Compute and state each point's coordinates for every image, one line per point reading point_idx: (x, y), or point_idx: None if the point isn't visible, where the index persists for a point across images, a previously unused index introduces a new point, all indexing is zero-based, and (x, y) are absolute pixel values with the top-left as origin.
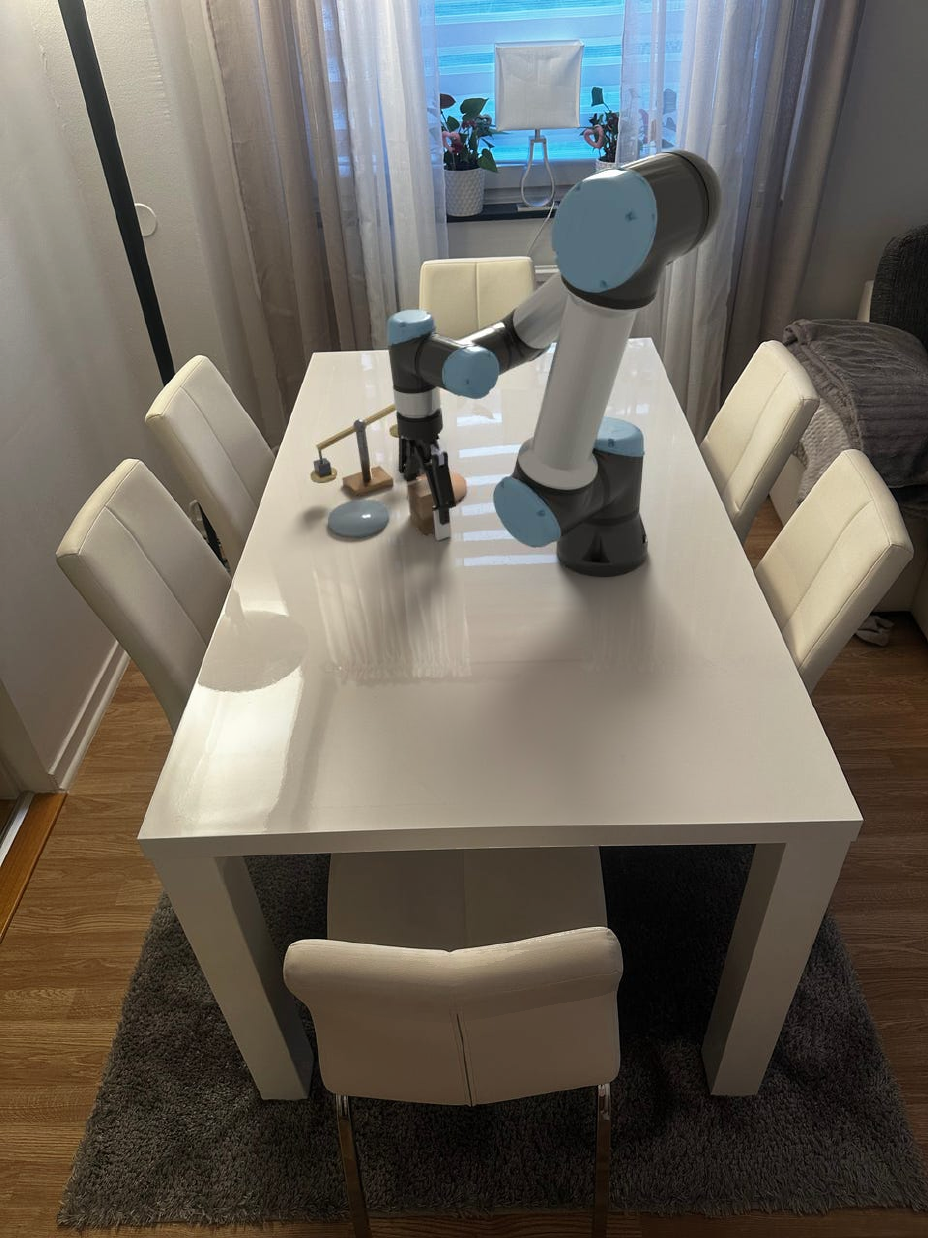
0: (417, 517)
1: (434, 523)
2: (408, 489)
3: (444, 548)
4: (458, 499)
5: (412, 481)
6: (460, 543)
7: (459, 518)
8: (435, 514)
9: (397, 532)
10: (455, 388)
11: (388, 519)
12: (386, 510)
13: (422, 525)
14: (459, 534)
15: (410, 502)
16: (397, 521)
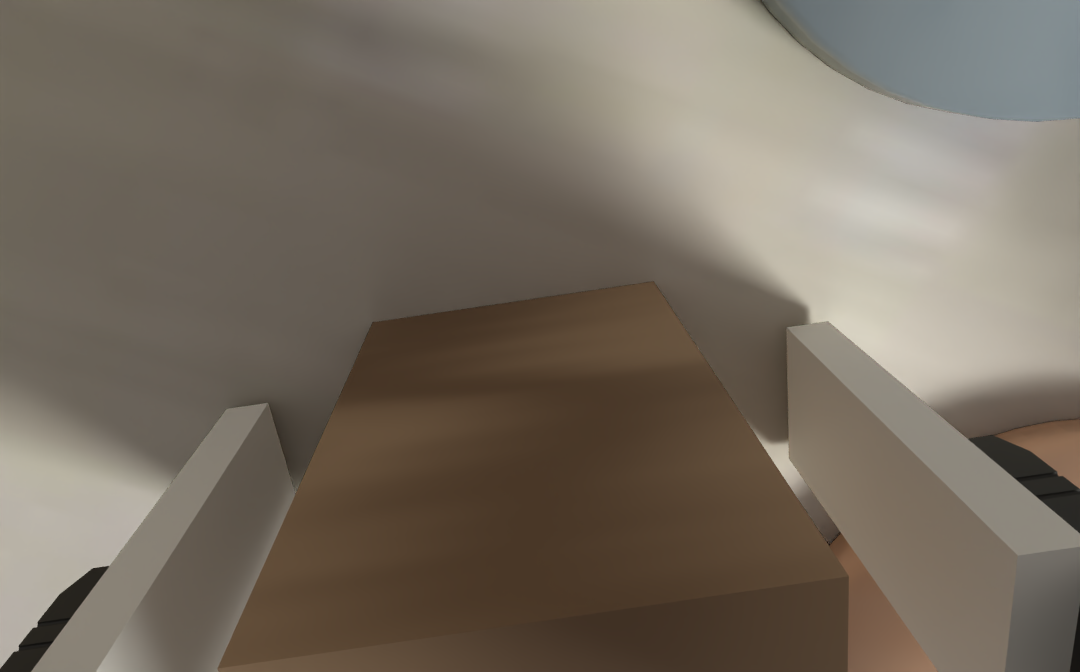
0: (495, 366)
1: (200, 501)
2: (782, 526)
3: (91, 418)
4: None
5: (1048, 635)
6: None
7: None
8: (72, 618)
9: (572, 87)
10: None
11: (846, 72)
12: (985, 96)
13: (384, 363)
14: None
15: (687, 402)
16: (778, 161)
